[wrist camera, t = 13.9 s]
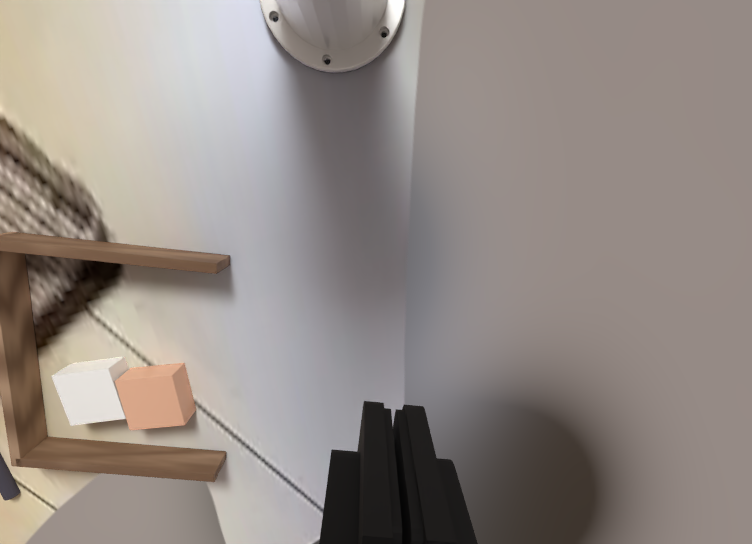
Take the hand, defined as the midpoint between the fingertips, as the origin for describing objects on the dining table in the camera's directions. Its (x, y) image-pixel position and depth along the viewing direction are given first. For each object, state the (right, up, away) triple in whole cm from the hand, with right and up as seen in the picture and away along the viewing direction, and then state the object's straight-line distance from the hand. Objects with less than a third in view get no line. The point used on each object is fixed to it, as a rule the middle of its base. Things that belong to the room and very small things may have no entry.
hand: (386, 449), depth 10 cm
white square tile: (-31, -8, +32) cm, 45 cm away
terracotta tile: (-24, -8, +32) cm, 41 cm away
